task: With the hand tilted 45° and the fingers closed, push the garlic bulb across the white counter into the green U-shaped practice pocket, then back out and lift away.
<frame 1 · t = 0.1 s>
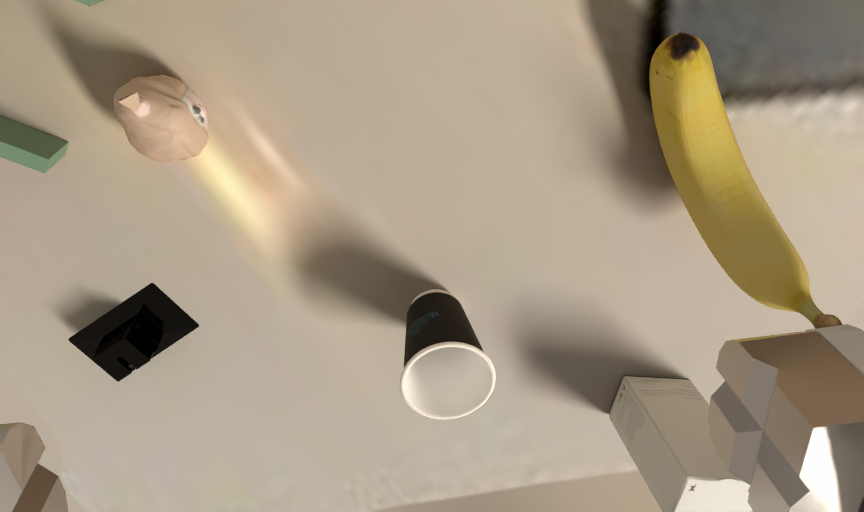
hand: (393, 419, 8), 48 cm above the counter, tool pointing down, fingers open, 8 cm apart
skincare box: (650, 394, 73), on the counter
garlic bulb: (172, 107, 53), on the counter
banana: (684, 139, 59), on the counter
build plate: (136, 328, 63), on the counter
dixie cup: (433, 309, 65), on the counter
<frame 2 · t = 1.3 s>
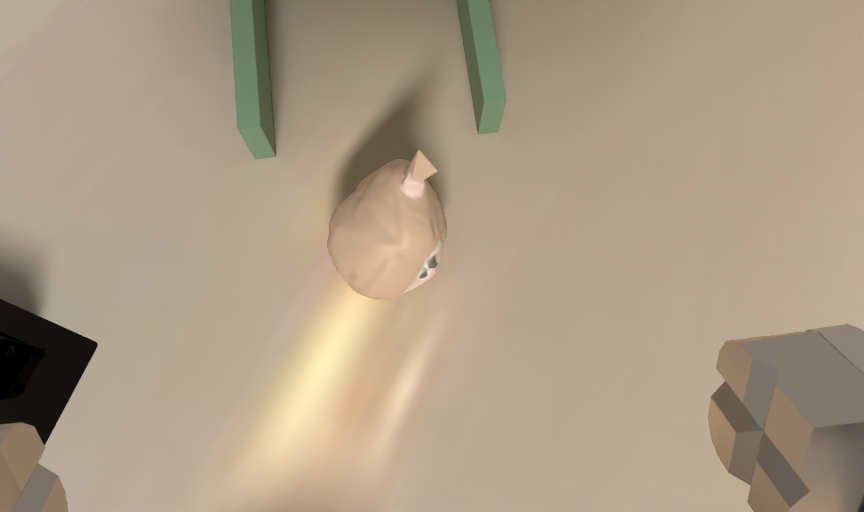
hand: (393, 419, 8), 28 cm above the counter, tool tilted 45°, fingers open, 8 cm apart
practice pocket: (366, 47, 42), on the counter
garlic bulb: (390, 250, 38), on the counter
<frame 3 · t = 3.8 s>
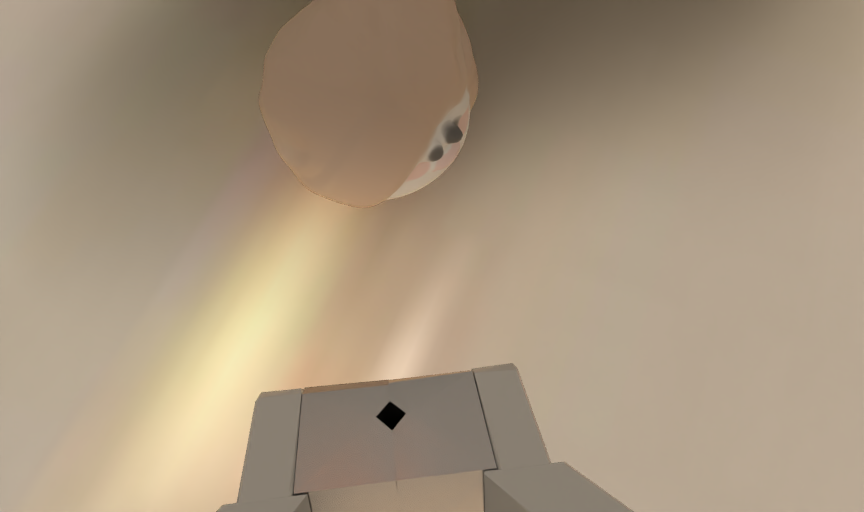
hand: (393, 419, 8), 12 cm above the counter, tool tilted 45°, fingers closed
garlic bulb: (377, 137, 23), on the counter
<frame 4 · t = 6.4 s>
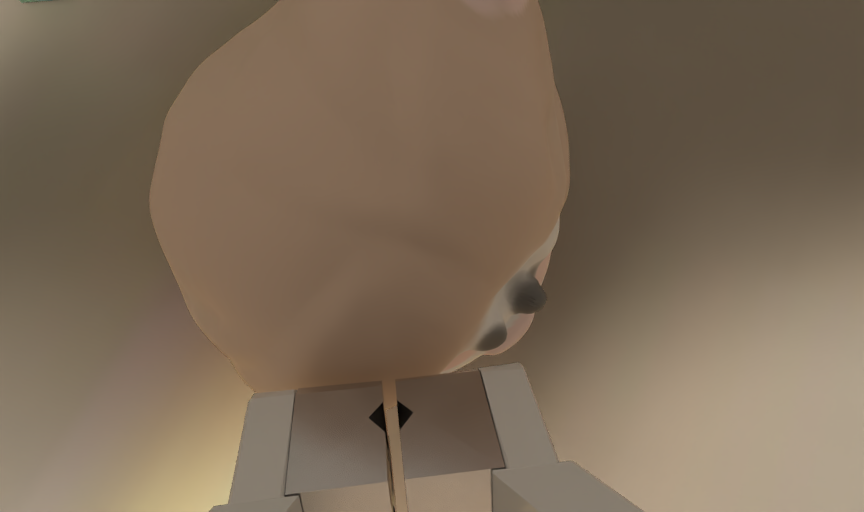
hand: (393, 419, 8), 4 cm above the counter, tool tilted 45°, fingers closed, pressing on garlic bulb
garlic bulb: (378, 244, 13), on the counter, touching gripper
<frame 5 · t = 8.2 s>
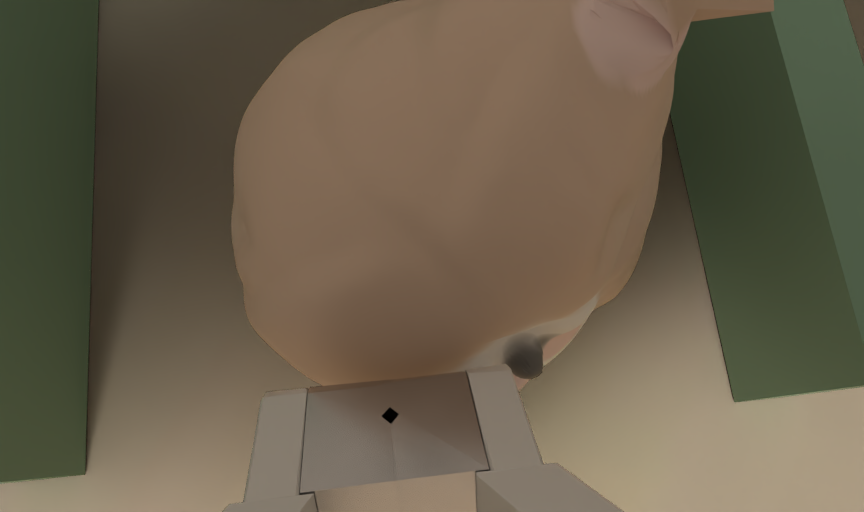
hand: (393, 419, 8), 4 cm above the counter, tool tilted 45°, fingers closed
practice pocket: (386, 113, 14), on the counter
garlic bulb: (437, 252, 13), on the counter, touching gripper
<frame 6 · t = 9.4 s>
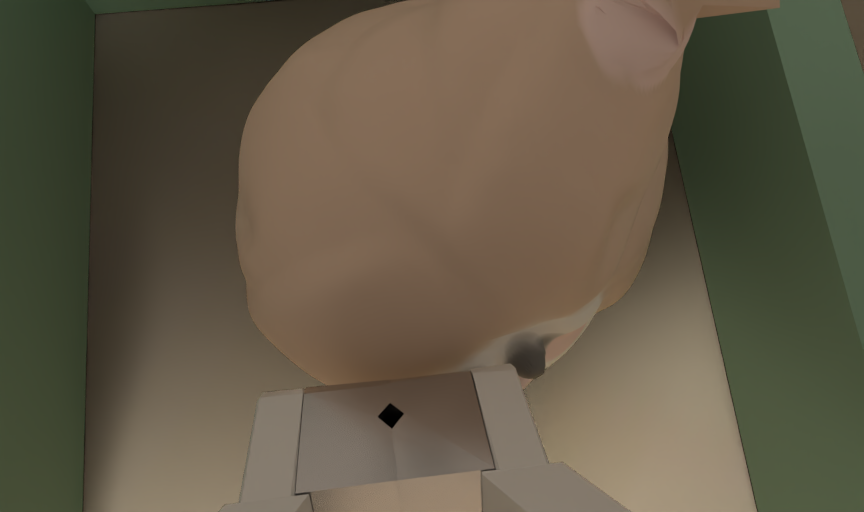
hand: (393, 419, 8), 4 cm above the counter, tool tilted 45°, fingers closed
practice pocket: (398, 251, 13), on the counter
garlic bulb: (442, 255, 13), on the counter, touching gripper
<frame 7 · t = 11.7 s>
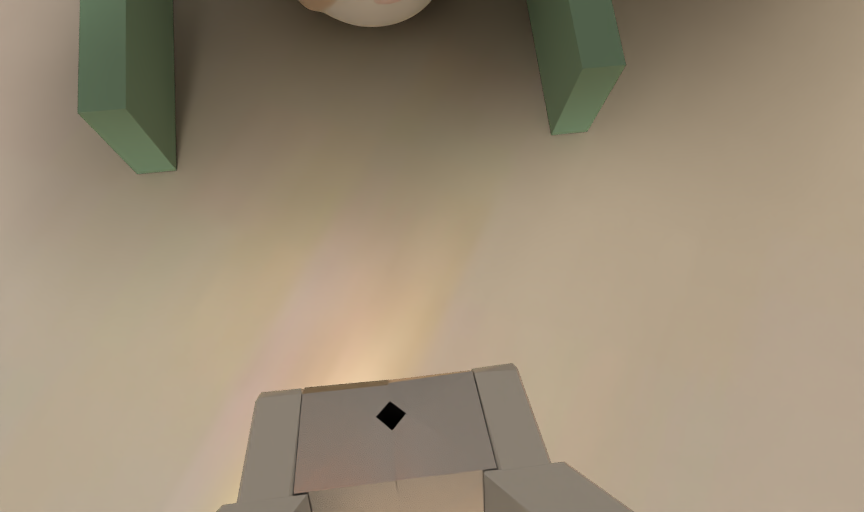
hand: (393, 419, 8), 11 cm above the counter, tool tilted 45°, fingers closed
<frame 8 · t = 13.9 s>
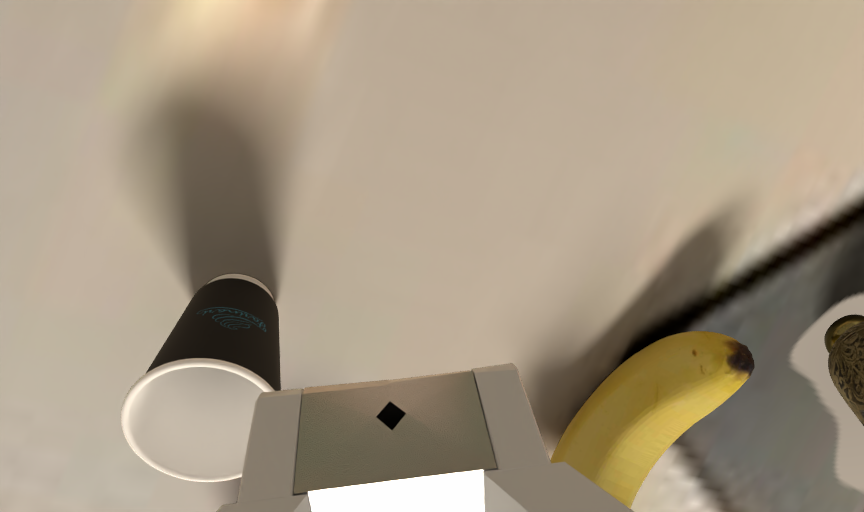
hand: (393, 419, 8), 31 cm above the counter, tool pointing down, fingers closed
banana: (599, 406, 51), on the counter
cup: (842, 329, 50), on the counter
dixie cup: (237, 304, 43), on the counter
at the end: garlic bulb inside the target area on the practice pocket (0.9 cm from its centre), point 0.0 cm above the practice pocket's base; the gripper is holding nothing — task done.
